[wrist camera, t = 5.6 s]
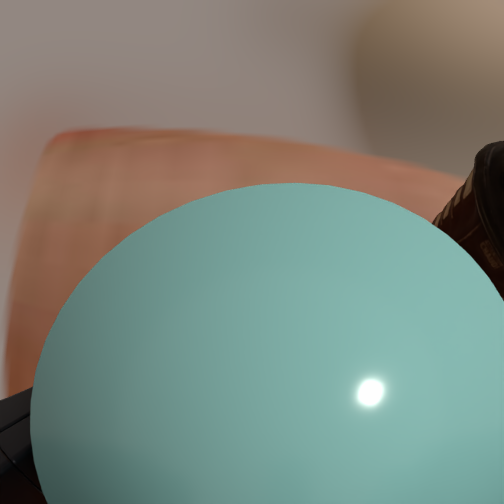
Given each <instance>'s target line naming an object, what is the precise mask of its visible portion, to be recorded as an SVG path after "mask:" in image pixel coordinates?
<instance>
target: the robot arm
mask: <svg viewBox="0 0 504 504" xmlns="http://www.w3.org/2000/svg"><path fill="white" fill-rule="evenodd" d="M32 390H33V387H31V388H29V389H27V390H24V391H22V392H20V393H17V394H15V395H13V396H10V397H8V398H5V399H3V400H0V504H48V503H47V501H46V499H45V496H44V494H43V491H42V488H41V485H40V481H39V478H38V474H37V471H36V467H35V463H34V457H33V450H32V443H31V434H30V412H31V397H32Z"/></svg>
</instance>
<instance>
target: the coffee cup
mask: <svg viewBox="0 0 504 504" xmlns="http://www.w3.org/2000/svg"><path fill="white" fill-rule="evenodd" d="M432 225H434V226H435V227H437V228H438V229H440V230H441V231H443V232H444V233H445V234H447V235H448V236H449V237H450V238H451V239H453V240H454V241H455V242H456V243H457V244H458V245H459V246H460V247H462V248H463V249H464V250H465V251H466V252H467V253H468V254H469V255H470V256H471V257H472V258H473V259H474V261H475V262H476V263H477V264H478V265H479V266H480V268H481V269H482V270H483V271H484V272H485V274H486V275H487V276H488V277H489V279H490V280H491V282H492V283H493V285H494V287H495V288H496V290H497V291H498V293H499V294H500V296H501V298H502V299H503V301H504V141H499V142H495V143H491V144H488V145H486V146H485V147H484V148H482V149H481V150H480V151H479V152H478V153H477V155H476V157H475V163H474V168H473V170H472V171H471V173H470V175H469V176H468V178H467V180H466V182H465V183H464V185H463V186H461V187H460V188H459V189H458V190H457V192H456V194H455V195H454V197H453V198H452V199H451V200H450V201H449V202H448V203H447V205H446V206H445V207H444V209H443V211H442V212H440V213H439V214H438V215H437V216H436V218H435V219H434V221H433V222H432Z"/></svg>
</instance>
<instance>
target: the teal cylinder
mask: <svg viewBox="0 0 504 504" xmlns="http://www.w3.org/2000/svg"><path fill="white" fill-rule="evenodd" d="M30 434H31V443H32V450H33V457H34V463H35V467H36V471H37V474H38V478H39V481H40V485H41V488H42V491H43V494H44V496H45V499H46V501H47V503H48V504H504V301H503V299H502V298H501V296H500V294H499V293H498V291H497V290H496V288H495V287H494V285H493V283H492V282H491V280H490V279H489V277H488V276H487V275H486V274H485V272H484V271H483V270H482V269H481V268H480V266H479V265H478V264H477V263H476V262H475V261H474V259H473V258H472V257H471V256H470V255H469V254H468V253H467V252H466V251H465V250H464V249H463V248H462V247H460V246H459V245H458V244H457V243H456V242H455V241H454V240H453V239H451V238H450V237H449V236H448V235H447V234H445V233H444V232H443V231H441V230H440V229H438V228H437V227H435V226H434V225H432V224H431V223H429V222H428V221H426V220H425V219H423V218H422V217H420V216H418V215H416V214H414V213H412V212H410V211H408V210H406V209H404V208H402V207H400V206H398V205H396V204H394V203H392V202H389V201H386V200H383V199H380V198H378V197H375V196H372V195H369V194H366V193H363V192H359V191H354V190H349V189H344V188H339V187H334V186H329V185H317V184H304V183H282V184H263V185H256V186H250V187H244V188H239V189H233V190H228V191H224V192H220V193H217V194H214V195H211V196H207V197H204V198H201V199H198V200H195V201H192V202H189V203H187V204H185V205H183V206H181V207H178V208H176V209H174V210H172V211H170V212H168V213H165V214H163V215H161V216H159V217H157V218H156V219H154V220H153V221H151V222H149V223H148V224H146V225H145V226H143V227H141V228H140V229H138V230H137V231H135V232H133V233H132V234H130V235H129V236H128V237H126V238H125V239H124V240H123V241H122V242H120V243H119V244H118V245H117V246H116V247H114V248H113V249H112V250H111V251H110V252H108V253H107V254H106V255H105V256H104V257H102V259H101V260H100V261H99V262H98V263H97V264H96V265H95V266H94V267H93V268H92V269H91V270H90V271H89V273H88V274H87V275H86V276H85V277H84V278H83V279H82V280H81V281H80V283H79V284H78V285H77V287H76V288H75V290H74V291H73V293H72V294H71V295H70V297H69V298H68V300H67V301H66V303H65V304H64V306H63V307H62V309H61V310H60V312H59V314H58V316H57V318H56V320H55V322H54V324H53V326H52V328H51V330H50V332H49V334H48V336H47V338H46V341H45V344H44V347H43V350H42V353H41V356H40V359H39V362H38V365H37V369H36V373H35V378H34V384H33V390H32V397H31V412H30Z"/></svg>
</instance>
